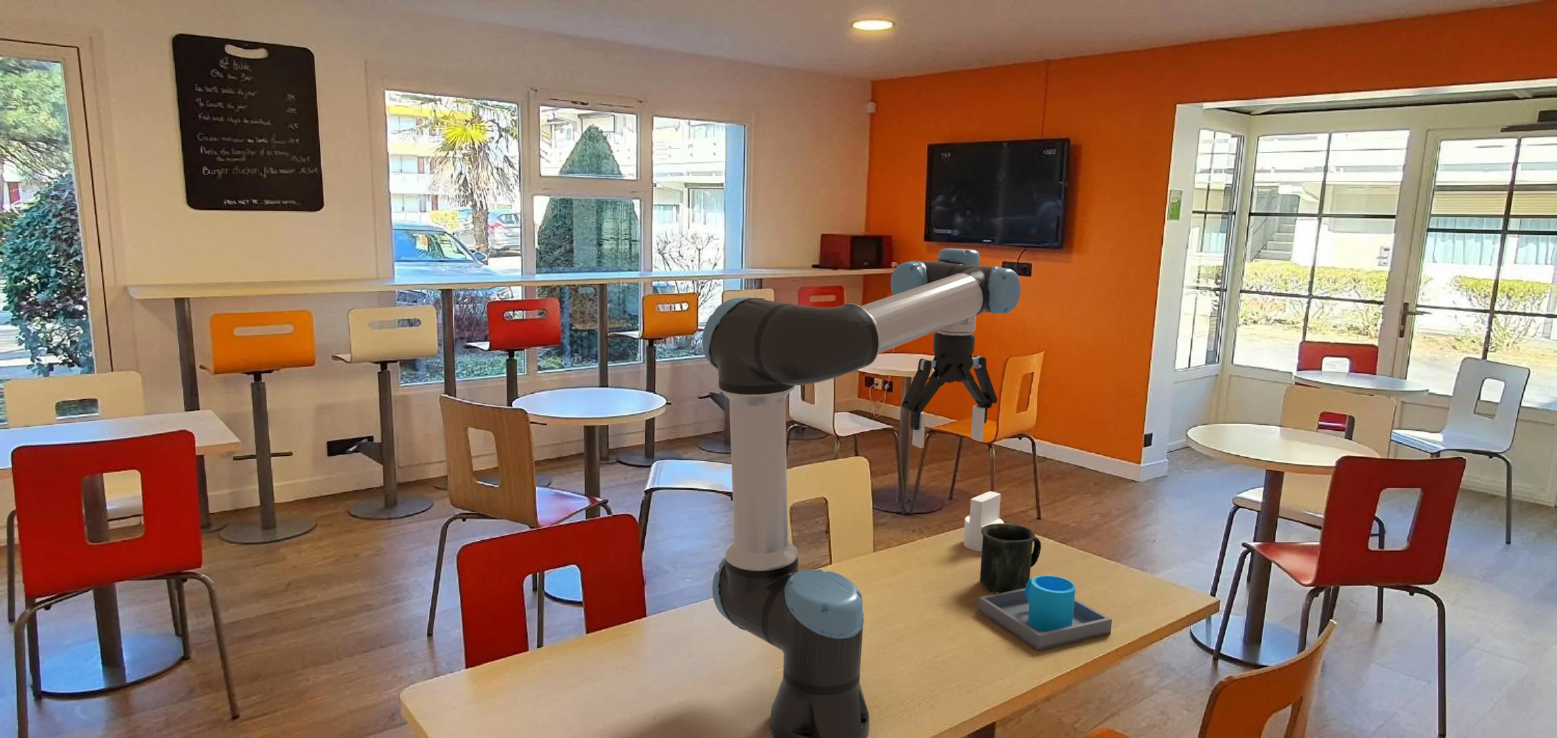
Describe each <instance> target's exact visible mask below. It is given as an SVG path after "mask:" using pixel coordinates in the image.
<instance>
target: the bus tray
mask: <svg viewBox="0 0 1557 738" xmlns="http://www.w3.org/2000/svg"><path fill="white" fill-rule="evenodd" d="M977 602H978V604H977V612H978V613H979V614H981V615H983V616H984V617H985V618H988V619H989V620H990V621H992V622H993V623H994V624H996V625H998V626H999V627H1001V628H1002V629H1004V630H1006V632H1008V633H1010V634H1011V635H1013V636H1014V637H1016V638H1017V639H1019V640H1020V641H1022V642H1024V643H1025V644H1026V645H1027V646H1030V647H1031V648H1032V649H1035V650H1036V651H1037V652H1040V651H1045V650H1049V649H1052V648H1053V649H1054V648H1058V647H1061V646H1064V645H1065V646H1066V645H1069V644H1074V643H1078V642H1083V641H1086V640H1091V639H1096V638H1099V637H1104V636H1108V635H1111V634H1112V622H1113V619H1112V618H1111V617H1109V616H1108V615H1105V614H1103V613H1101V612H1100V611H1098V610H1096V609H1094V608H1092V607H1091V606H1089V605H1087V604H1086V603H1083V602H1082V601H1080V600H1078V599H1076V598H1075V601H1074V612H1073V623H1072V626H1069V627H1065V628H1060V629H1056V630H1051V631H1047V632H1042V631H1040V630H1037V629H1035V628H1033V627H1032V626H1031V625H1030V624H1029V623H1028V614H1029V603H1028V601H1027V598H1026V592H1025V588H1024V589H1019V590H1014V591H1008V592H1003V593H995V594H988V595H983V596H980V597H978V601H977Z"/></svg>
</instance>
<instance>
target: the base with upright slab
mask: <svg viewBox="0 0 1557 738" xmlns="http://www.w3.org/2000/svg"><path fill="white" fill-rule="evenodd" d="M1001 495H1002V494H1001V493H999V492H995V491H987V492H984V493H982V494H979V495H977V496H975V497H972V498H971V499H970V509H969V515H967V516H966V517H965V518H964V527H963V529H964V530H963V531H964V532H963V541H962V542H963V546H965V547H966V548H967V549H970V550H973V551H976V552H981V553H982V542H983V534H982V533H981V529H982V528H983V527H984V526H987V525H990V524H998V523H1004V524H1005V522H1004V521H1003V519H1001V518H1000V511H1001V510H1000V509H1001V498H1002V496H1001Z"/></svg>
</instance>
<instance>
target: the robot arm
mask: <svg viewBox="0 0 1557 738" xmlns="http://www.w3.org/2000/svg"><path fill="white" fill-rule="evenodd" d="M980 259H981V256H980V253H979V251H977V250H975V249H972V248H971V249H969V248H953V247H952V248H950V247H949V248H942V249H941V250H939V253H938V258H937V260H922V261H921V260H920V261H919V260H911V261H906V262H902V263H901V264H899V265H897V266H896V267H895V269H894V270H893V271H892V274H891V276H890V289H891V293H892V295H890V296H887V297H884V298H881V299H878V300H875V301H872V302H869V303H866V304H863V305H858V304H856V303H854V302H853V303H845V304H841V305H837V306H835V307H834V306H833V307H831V306H830V307H821V306H819V307H818V306H808V305H800V304H793V303H785V302H780V301H773V300H767V299H764V298H763V299H762V298H759V297H734V298H730V299H728V300H726V301H725V300H724V302H722V303H720V304H719V305H718V306H717V307H715V310H714V311H713V313H711V314H710V315H709V317H708V318H707V321H706V322H705V325H704V328H703V332H702V338H701V345H702V352H703V355H704V357H705V359H706V360H707V361H708V362H709V363H710V364H711V366H713V367H714V368H715V369H716V370H717V371H718V373H717V375H718V390H719V392H721V393H722V394H723V395H724V396H725V397H726V398H728V400H729V426H730V454H731V455H730V456H731V457H730V458H731V459H730V460H731V482H732V483H731V484H732V485H731V487H732V513H733V514H732V515H733V543H732V544H731V545H730V546H729V547H728V548H727V549H726V551H725V554H724V555H725V556H724V557H723V559H721V561H720V563H719V564H718V566H717V567H718V571H715V573H714V574H713V579H712V586H711V591H712V593H711V594H712V598H713V601H714V604H715V606H716V607H715V608H716V609H717V611H718V612H719V613H720V614H721V615H722V616H723V618H725V619H726V620H727V621H729V622H730V623H731V624H732V625H733V626H736V627H737V628H738V629H741V630H743V631H746V632H748V633H750V634H752V635H753V636H755V637H757V638H759V639H761V640H762V641H764V642H766V643H768V644H770V645H772V646H774V647H775V648H777V649H779V650H780V651H782V652H783V665H782V666H783V673H782V679H781V683H780V685H779V688H778V689H777V690H778V691H777V693H776V696H775V699H774V701H773V703H772V706H771V709H770V720H769V721H770V724H769V725H770V726H771V728H770V731H771V730H772V731H771V734H772V735H773V734H774V735H773V737H774V736H776V738H868V737H869V735H870V733H869V732H870V714H869V713H870V712H869V710H868V709H869V708H868V705H867V701H866V699H865V696H864V693H863V689H862V686H861V681H860V680H861V665H862V661H861V660H862V648H863V647H862V645H863V633H864V632H863V630H864V623H865V619H864V616H865V613H864V606H863V605H864V603H863V601H864V600H863V597H862V593H861V590H860V589H859V587H858V586H857V585H856V583H854V582H853V581H852V580H850V579H849V578H847V577H845V576H844V575H842V574H840V573H837V572H834V571H831V570H828V571H824V570H822V569H820V568H819V569H818V568H817V569H815V568H811V569H810V568H809V569H808V568H807V569H802V570H800V571H799V551H798V548H797V547H796V546H795V545H794V544H793V543H791V542H790V541H789V526H788V525H789V519H788V518H789V517H788V515H789V514H788V513H789V512H788V476H787V475H788V472H787V471H788V470H787V467H788V466H787V465H788V464H787V462H788V461H787V425H786V424H787V422H786V416H787V415H786V397H787V396H788V395H789V394H790V393H791V392H792V391H793V390H794V389H795V388H796V386H806V385H812V384H816V383H817V384H819V383H821V382H825V381H829V380H833V379H836V378H840V377H842V376H844V375H848V374H850V373H854V372H855V371H858V370H861V369H863V368H865V367H868V366H870V365H871V364H872V363H874V362H875V360H877V357H878V355H880V354H881V353H882V354H883V353H885V352H886V351H889V350H892V349H895V348H897V347H900V346H902V345H905V344H908V343H910V342H912V341H914V340H917V339H920V338H922V337H924V336H927V335H930V334H932V333H934V334H933V347H932V348H933V349H932V350H933V354H934V356H933V359H932V360H928V359H926V358H925V359H924V358H920V359H919V360H918V365H917V371H916V373H915V374H914V376H913V379H912V380H911V381H912V382H911V383H910V386H909V388H908V389H907V392H906V394H905V396H904V398H903V401H902V403H901V408H902V409H904V410H906V411H909V413H910V417H909V419H910V420H909V421H910V422H909V427H910V429H911V430H912V440H911V445H912V446H914V447H917V448H919V449H924V448H925V447H924V445H925V430H926V413H924V412H923V411H924V410H925V408H926V406H928V404H929V403H930V401H931V400H932V399H933V397H934V396H935V395H936V393H937V392H938V390H939V389H940V388H941V387H943V386H944V384H945V383H948V384H949V383H950V384H952V383H954V382H957V383H963V385H964V387H965V388H966V390H967V391H968V393H969V394H970V396H971V397H972V399H973V400H974V401H975V403H976V404H977V405H973V406H972V415H971V416H972V417H971V432H970V434H971V435H970V439H972V440H974V441H977V442H983V441H984V428H985V427H984V426H985V424H987V420H988V409H992V407H993V404H997V402H998V397H997V394H996V392H995V388H994V386H993V383H992V381H991V378H990V375H989V372H988V369H987V358H986V357H984V356H980V355H978V354H977V355H974V356H973V354H974V352H975V346H976V345H975V344H976V341H975V340H976V335H975V334H974V332H975V331H976V327H977V316H978V315H982V314H984V313H991V314H994V315H997V314H998V315H999V314H1001V315H1005V314H1009V313H1011V312H1013V311H1014V309H1015V308H1017V305H1018V304H1019V301H1020V298H1021V295H1022V290H1021V285H1022V284H1021V280H1020V277H1019V275H1018V273H1017V272H1015V270H1013V269H1010V268H1005V267H1000V266H998V265H994V266H990V265H989V266H988V265H987V266H986V265H980V264H981V263H980V262H981V261H980ZM972 368H973V370H974V371H973V372H974V373H975V377H976V379H977V382H978V384H977V382H976V381H975V377H974V375H973V374H972V372H971V369H972ZM933 370H934V371H933ZM931 372H932V373H931ZM770 726H769V727H770Z"/></svg>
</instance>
